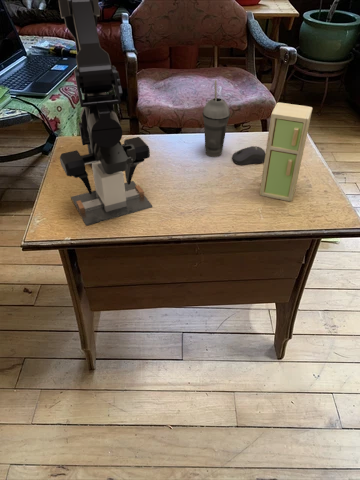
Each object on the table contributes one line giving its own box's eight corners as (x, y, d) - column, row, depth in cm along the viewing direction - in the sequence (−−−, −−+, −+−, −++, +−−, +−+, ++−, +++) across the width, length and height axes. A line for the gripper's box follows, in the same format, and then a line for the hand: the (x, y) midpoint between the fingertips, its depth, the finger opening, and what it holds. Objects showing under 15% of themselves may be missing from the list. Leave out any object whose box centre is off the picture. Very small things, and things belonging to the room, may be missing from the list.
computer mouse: (230, 156, 115) (231, 143, 112) (262, 154, 116) (264, 141, 113) (235, 167, 111) (236, 153, 108) (268, 164, 112) (270, 151, 109)
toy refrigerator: (257, 196, 99) (270, 114, 86) (264, 181, 105) (277, 101, 91) (290, 204, 97) (309, 120, 84) (295, 188, 102) (314, 106, 89)
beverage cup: (210, 162, 112) (215, 89, 99) (195, 151, 117) (198, 80, 104) (231, 155, 115) (238, 83, 102) (216, 144, 120) (221, 74, 107)
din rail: (71, 198, 98) (70, 191, 97) (133, 182, 104) (132, 176, 103) (86, 226, 90) (85, 219, 89) (152, 207, 96) (152, 200, 95)
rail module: (96, 196, 98) (91, 162, 92) (116, 191, 100) (112, 157, 94) (106, 211, 94) (101, 177, 88) (126, 206, 95) (123, 171, 89)
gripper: (67, 151, 76) (80, 218, 86) (159, 131, 82) (161, 196, 92) (52, 127, 83) (66, 191, 93) (138, 111, 90) (141, 172, 100)
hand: (109, 188), depth 95 cm, fingers open, 9 cm apart
